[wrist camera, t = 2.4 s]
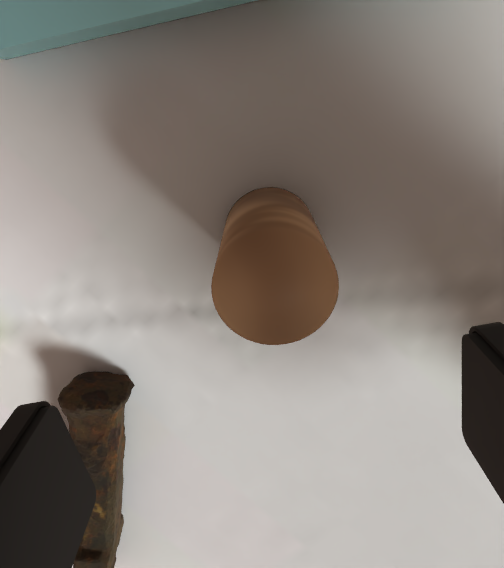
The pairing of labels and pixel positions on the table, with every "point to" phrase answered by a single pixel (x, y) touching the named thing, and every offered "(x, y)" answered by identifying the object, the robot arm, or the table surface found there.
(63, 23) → the square hole plate
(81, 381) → the hand tool
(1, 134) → the table surface
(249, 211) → the cylinder
